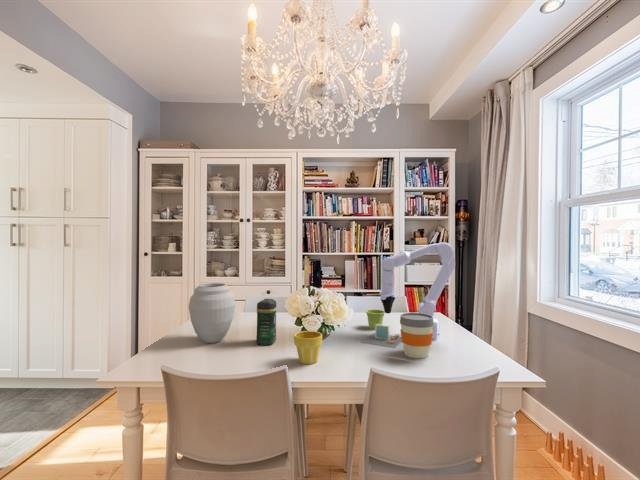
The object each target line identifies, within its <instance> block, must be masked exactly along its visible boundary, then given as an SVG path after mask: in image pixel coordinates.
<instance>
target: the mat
mask: <svg viewBox="0 0 640 480" xmlns="http://www.w3.org/2000/svg"><path fill="white" fill-rule="evenodd" d="M393 336H394V335H393V334H392V335H391V334H390V339H389V340H391V338H392V337H393ZM387 341H388V340H385V339H379V338H376V332H373V333H372V334H370V335H368V336H367V337H366V338H364V339H363V340H362V341H360V344H364V345H365V344H367V345H373V346H376V347H377V346H378V347H383V348H391V349H395V348H396V347H398V345H400V344H401V343H403V342H402V338H401V336H399V338H397V339H396V340H395V341H396V342H395V343H394V344H389V343H386V342H387Z"/></svg>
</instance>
